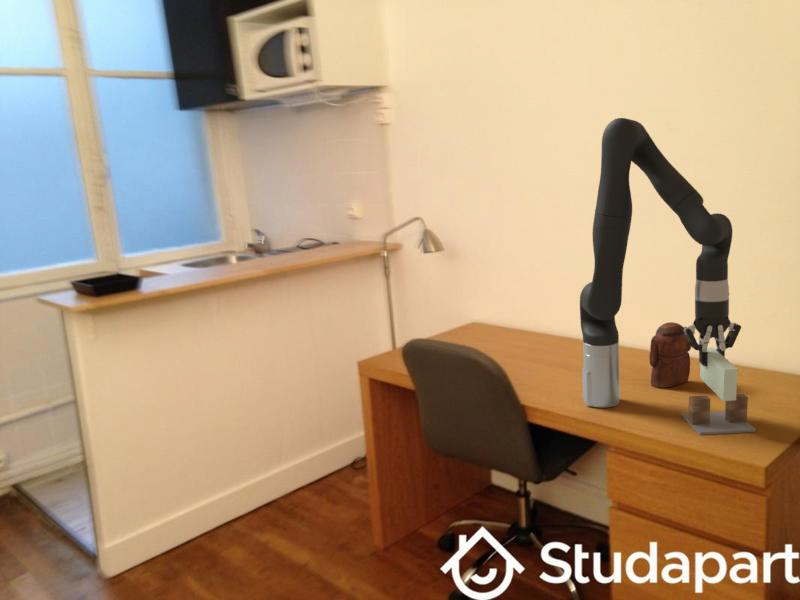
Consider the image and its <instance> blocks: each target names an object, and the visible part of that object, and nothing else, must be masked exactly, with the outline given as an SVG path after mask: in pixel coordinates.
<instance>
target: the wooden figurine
mask: <svg viewBox="0 0 800 600" xmlns="http://www.w3.org/2000/svg"><path fill="white" fill-rule="evenodd" d="M684 327H685V326H683V325H681V324H680V323H677V322H673V321H672V322H666V323H663V324H661V325H660V326H659V327H658V328H657V330H656V332H655V334H654V335H653V336H652V338H651V340H650V345H649V346H650V348H649V349H650V350H649V351H650V352H649V365H650V366H651V367H652V368H651V375H650V385H651V386H652V387H656V388H661V389H663V388H670V387H671V388H672V387H675V386H677V385H683V384H686V383H688V381H689V379H690V373H691V356H690V353H689V352H690V351H691V349H692V347H691V345H690V343H689V341H688V339H687V337H686V335H685V333H684V331H683V328H684Z"/></svg>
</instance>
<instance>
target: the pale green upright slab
mask: <svg viewBox="0 0 800 600" xmlns="http://www.w3.org/2000/svg"><path fill="white" fill-rule="evenodd" d="M716 349H717V348H714V347H707V351H706V352H708V354H707V366H703V365H702V364H701V363H700V362H699V364H700V366H699V370H700V371H699V379H700V380H702V382H704V384H706V386H708V388H709V389H711V390H712V392H714V394H716V396H717V397H718V398H719V399H720V400H721V401H722V402H726V401H733V400H736V394H738V393H737V391H738V390H737V389H738V387H737V386H738V374H739V373H738V369H739V368H738V367H736V366H735V365H734V364H733V363H732V362H731V361H729V360H728V359H727V358H726V356H725V357H724V356H722V355H721V354H720V353H719V352H718V351H716Z"/></svg>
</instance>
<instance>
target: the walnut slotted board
mask: <svg viewBox="0 0 800 600" xmlns="http://www.w3.org/2000/svg"><path fill="white" fill-rule="evenodd" d="M748 398H749V397H748V395H746V394H745V393H736V400H733V401H725V405H724V406H725V409H724V410H725V411H724V412H725V419H726V420H727V421H728V422H729V423H735V422H748V402H749V401H748V400H749V399H748ZM710 412H711V398H710V397H709V396H708V395H695V396H693V395H691V396H688V414H689V422H690V423H691V424H692V425H697V424H710Z"/></svg>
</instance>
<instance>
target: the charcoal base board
mask: <svg viewBox="0 0 800 600" xmlns="http://www.w3.org/2000/svg"><path fill="white" fill-rule="evenodd" d="M681 417H682V418H683V419H684V420H685V421H686V422H687V423H688V425H690V426H691V427H692V428H693V430H694V431H695V432H696V433H697V434H698V435H700V436H701V435H702V436H703V435H704V436H705V435H723V434H739V433H756V432H757V429H756V428H755V427H754V426H752V425H751V423H749V422H748V421H747V422H735V423H729V422H728V421H727V420H726V419H725V411H718V412H717V411H713V412H712V411H710V424H697V425H692V424H691V423H690V422H689V413H682V414H681Z"/></svg>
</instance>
